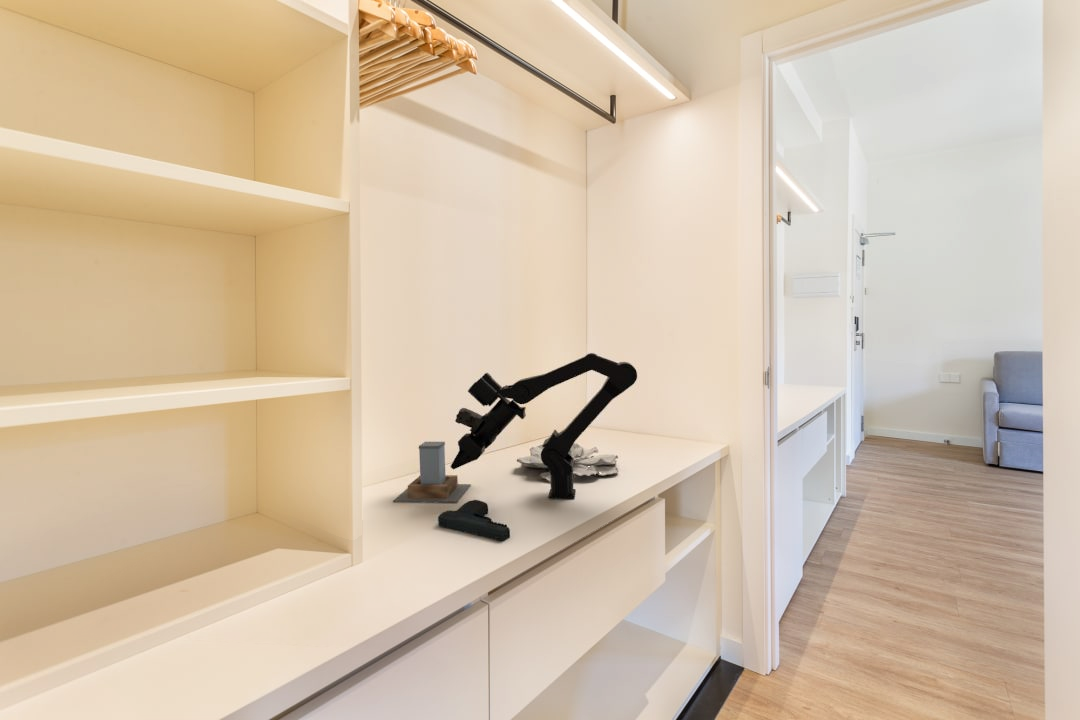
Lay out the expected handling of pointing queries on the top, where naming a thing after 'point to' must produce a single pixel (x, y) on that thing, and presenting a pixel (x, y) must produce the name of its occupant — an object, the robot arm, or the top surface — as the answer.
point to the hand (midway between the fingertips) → (456, 463)
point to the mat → (451, 499)
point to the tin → (432, 463)
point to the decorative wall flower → (575, 462)
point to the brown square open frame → (433, 488)
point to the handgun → (474, 521)
